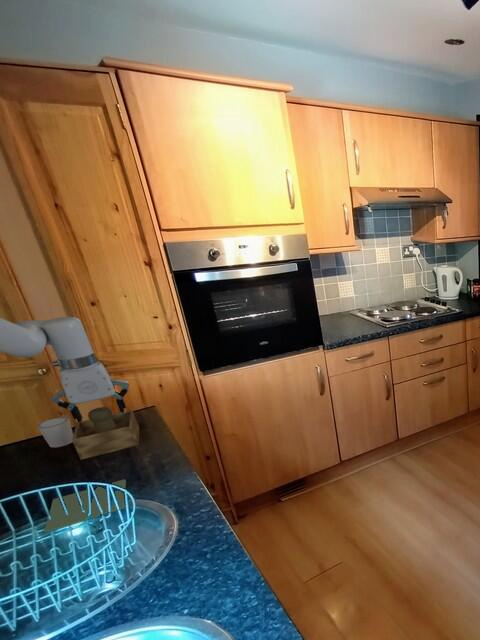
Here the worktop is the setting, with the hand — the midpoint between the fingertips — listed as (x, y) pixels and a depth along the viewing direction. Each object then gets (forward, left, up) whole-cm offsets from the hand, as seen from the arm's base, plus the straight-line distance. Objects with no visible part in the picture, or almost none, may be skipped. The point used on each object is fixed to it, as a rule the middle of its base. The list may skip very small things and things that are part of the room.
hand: (101, 415), depth 133 cm
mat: (-3, -34, -9) cm, 35 cm away
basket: (0, 0, -9) cm, 9 cm away
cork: (0, 0, -9) cm, 9 cm away
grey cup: (-12, +9, -10) cm, 18 cm away
